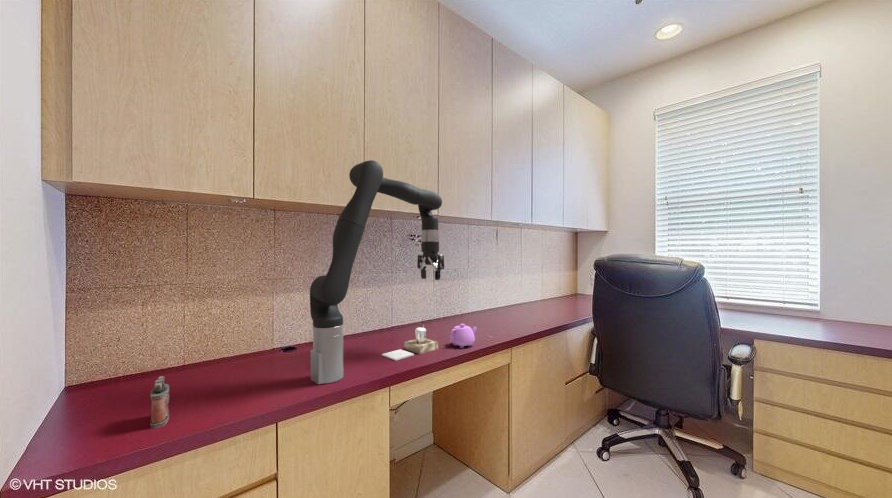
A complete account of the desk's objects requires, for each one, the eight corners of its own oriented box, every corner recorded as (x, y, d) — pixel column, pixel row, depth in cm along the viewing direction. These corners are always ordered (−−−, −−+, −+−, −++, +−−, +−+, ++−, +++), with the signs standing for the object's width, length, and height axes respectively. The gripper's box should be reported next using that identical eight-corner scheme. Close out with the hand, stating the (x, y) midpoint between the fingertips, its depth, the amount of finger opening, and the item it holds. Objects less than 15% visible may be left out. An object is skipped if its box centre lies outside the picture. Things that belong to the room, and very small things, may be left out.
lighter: (167, 425, 78) (167, 382, 78) (148, 429, 76) (148, 386, 76) (170, 412, 85) (170, 373, 85) (153, 415, 83) (153, 376, 83)
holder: (419, 354, 131) (419, 346, 131) (404, 349, 138) (404, 342, 138) (438, 348, 138) (437, 341, 138) (422, 344, 145) (422, 337, 145)
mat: (395, 360, 123) (395, 359, 123) (382, 355, 130) (381, 354, 130) (414, 355, 130) (414, 353, 130) (400, 350, 136) (400, 349, 136)
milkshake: (428, 347, 140) (428, 324, 140) (422, 351, 135) (422, 327, 135) (419, 346, 141) (419, 323, 142) (413, 350, 137) (413, 326, 137)
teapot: (443, 345, 143) (443, 324, 144) (469, 339, 152) (469, 319, 152) (458, 351, 135) (457, 328, 135) (484, 344, 144) (484, 323, 144)
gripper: (412, 241, 141) (412, 279, 141) (435, 240, 131) (435, 280, 131) (425, 241, 146) (425, 278, 146) (448, 240, 136) (448, 279, 136)
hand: (430, 279), depth 139 cm, fingers open, 8 cm apart
